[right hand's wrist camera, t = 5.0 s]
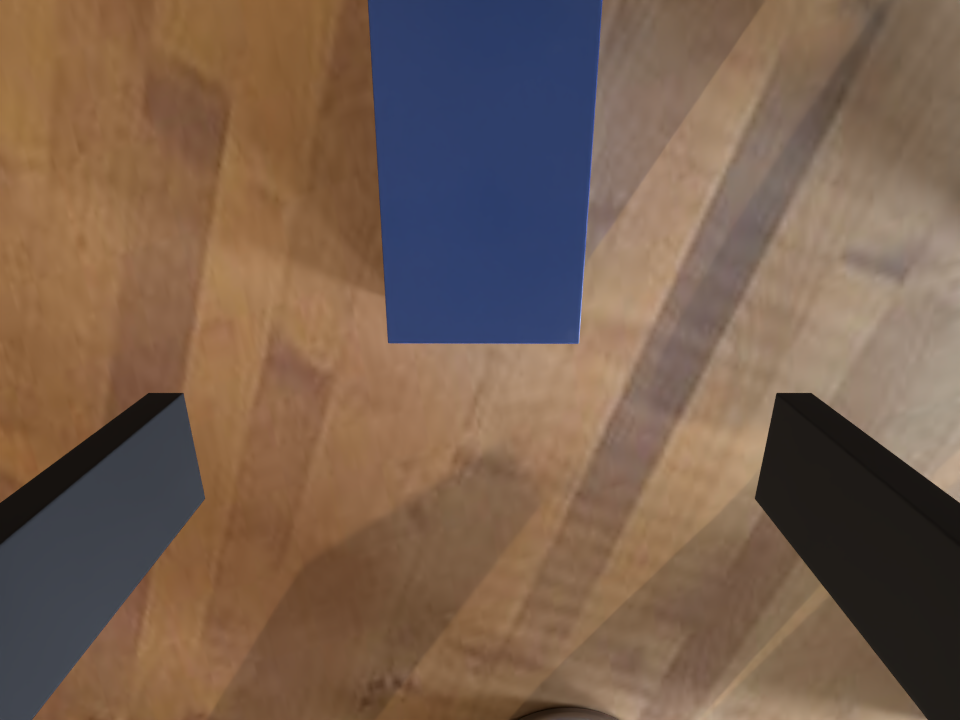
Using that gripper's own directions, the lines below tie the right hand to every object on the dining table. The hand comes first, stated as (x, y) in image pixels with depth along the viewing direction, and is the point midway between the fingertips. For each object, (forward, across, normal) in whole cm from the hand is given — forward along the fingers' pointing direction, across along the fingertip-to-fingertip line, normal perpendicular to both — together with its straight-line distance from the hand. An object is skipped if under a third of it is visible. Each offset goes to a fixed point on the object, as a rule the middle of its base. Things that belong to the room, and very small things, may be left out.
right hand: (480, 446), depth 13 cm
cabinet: (+26, 0, -5) cm, 26 cm away
